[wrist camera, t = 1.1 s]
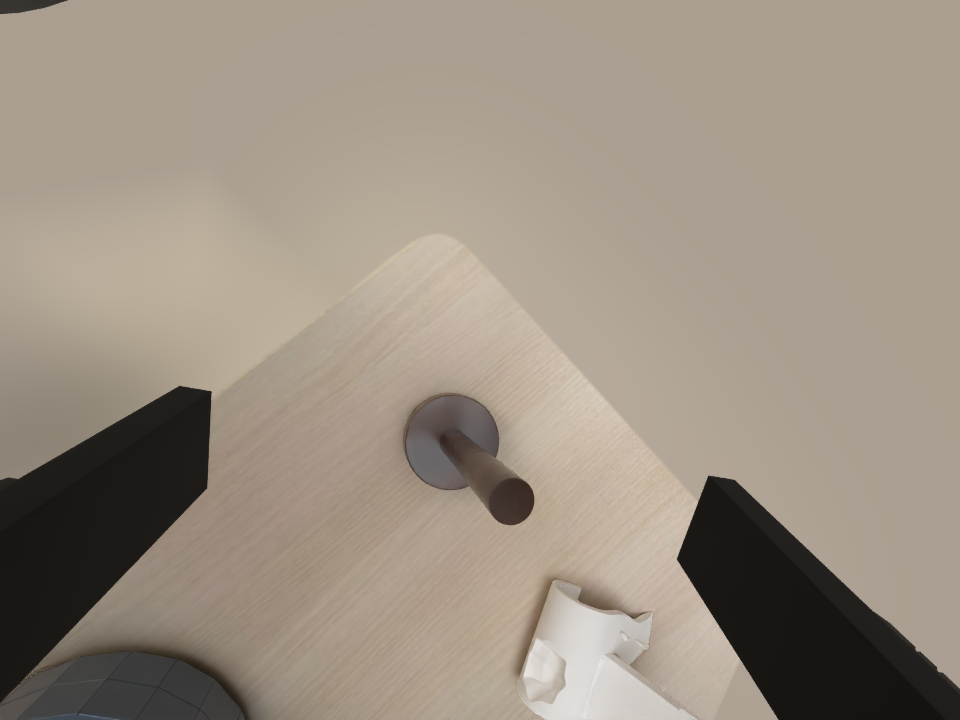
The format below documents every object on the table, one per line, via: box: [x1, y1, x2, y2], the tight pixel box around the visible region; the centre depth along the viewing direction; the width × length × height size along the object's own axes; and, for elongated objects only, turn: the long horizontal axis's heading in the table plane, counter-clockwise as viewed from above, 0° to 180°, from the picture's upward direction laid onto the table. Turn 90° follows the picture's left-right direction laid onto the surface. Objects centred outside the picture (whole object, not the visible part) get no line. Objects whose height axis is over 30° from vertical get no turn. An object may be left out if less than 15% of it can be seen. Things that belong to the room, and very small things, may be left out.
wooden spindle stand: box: [403, 393, 534, 525], centre depth 26 cm, size 6×6×16 cm
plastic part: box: [517, 580, 701, 720], centre depth 30 cm, size 8×10×12 cm
